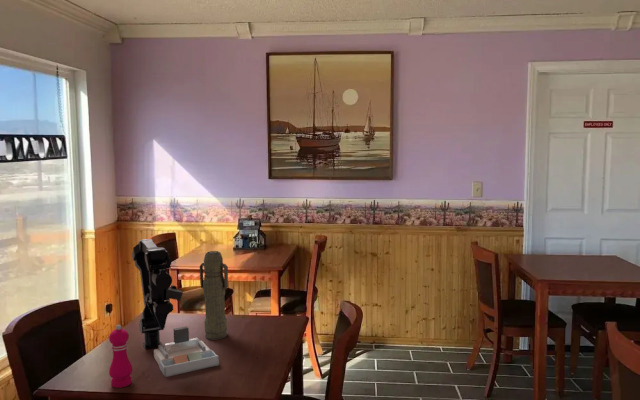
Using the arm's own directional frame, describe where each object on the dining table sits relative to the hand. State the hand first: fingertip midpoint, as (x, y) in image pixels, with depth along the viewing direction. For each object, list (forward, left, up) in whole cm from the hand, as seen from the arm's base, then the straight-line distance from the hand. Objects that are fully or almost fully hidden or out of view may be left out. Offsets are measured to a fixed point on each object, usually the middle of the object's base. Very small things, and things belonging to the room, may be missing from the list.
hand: (159, 324), depth 194 cm
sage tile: (+11, +10, -12) cm, 18 cm away
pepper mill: (+14, -16, -13) cm, 25 cm away
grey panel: (+2, +7, -10) cm, 12 cm away
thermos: (-13, +25, -13) cm, 31 cm away
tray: (+12, +7, -13) cm, 19 cm away
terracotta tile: (+11, +5, -12) cm, 16 cm away
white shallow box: (+2, +7, -13) cm, 15 cm away
